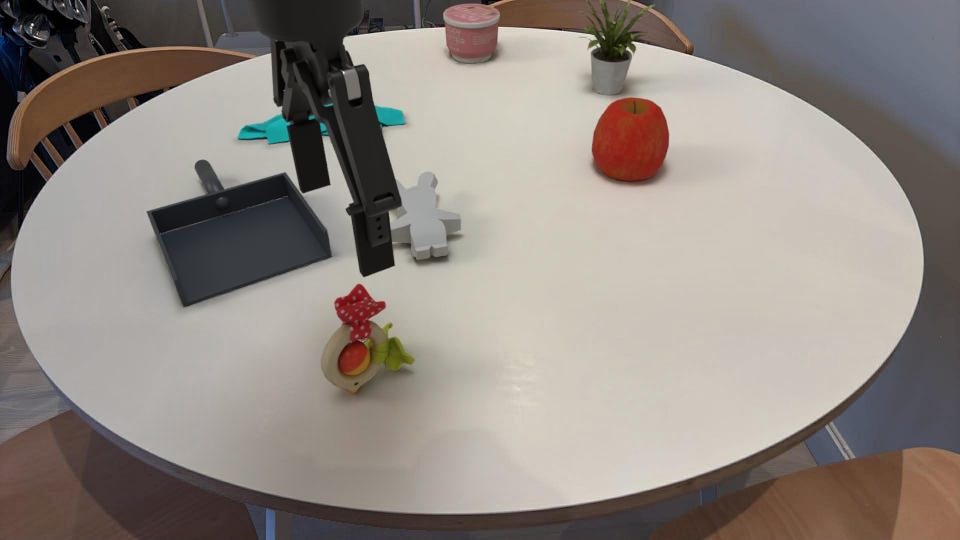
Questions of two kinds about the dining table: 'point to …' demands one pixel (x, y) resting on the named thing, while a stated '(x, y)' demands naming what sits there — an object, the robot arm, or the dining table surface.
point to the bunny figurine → (423, 219)
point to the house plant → (611, 49)
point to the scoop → (237, 235)
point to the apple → (631, 139)
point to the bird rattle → (360, 343)
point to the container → (471, 32)
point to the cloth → (278, 127)
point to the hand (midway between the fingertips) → (344, 225)
